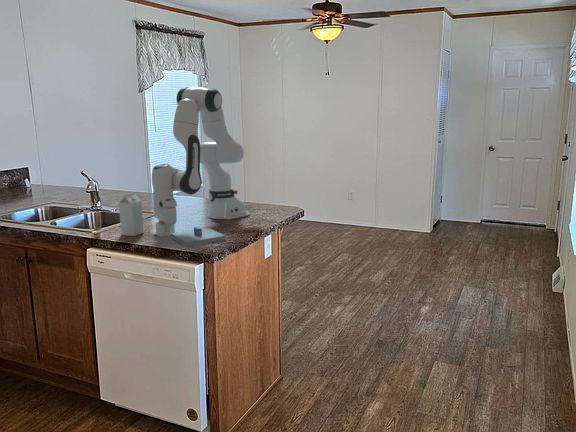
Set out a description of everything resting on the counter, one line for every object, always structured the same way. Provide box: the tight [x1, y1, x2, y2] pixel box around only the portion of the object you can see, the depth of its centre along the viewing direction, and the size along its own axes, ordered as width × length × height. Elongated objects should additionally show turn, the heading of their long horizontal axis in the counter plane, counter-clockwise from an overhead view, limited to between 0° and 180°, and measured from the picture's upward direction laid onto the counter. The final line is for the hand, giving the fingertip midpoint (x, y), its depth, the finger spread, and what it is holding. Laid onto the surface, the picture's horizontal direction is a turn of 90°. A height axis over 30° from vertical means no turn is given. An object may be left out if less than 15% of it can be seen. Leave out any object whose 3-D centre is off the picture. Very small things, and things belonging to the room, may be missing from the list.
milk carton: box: [118, 191, 145, 237], centre depth 231 cm, size 7×7×19 cm
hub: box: [170, 226, 227, 248], centre depth 222 cm, size 18×18×5 cm
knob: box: [154, 221, 176, 238], centre depth 230 cm, size 5×7×6 cm
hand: (165, 230), depth 231 cm, fingers closed on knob, 5 cm apart
